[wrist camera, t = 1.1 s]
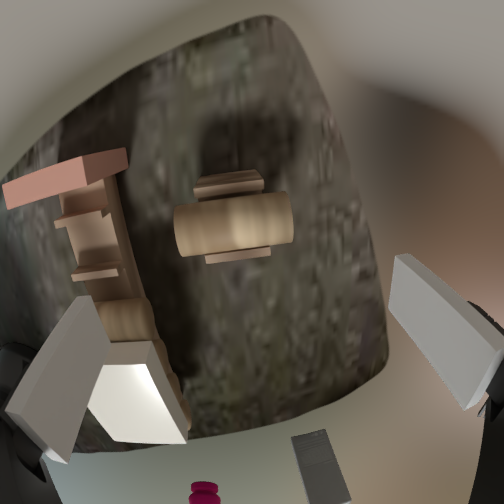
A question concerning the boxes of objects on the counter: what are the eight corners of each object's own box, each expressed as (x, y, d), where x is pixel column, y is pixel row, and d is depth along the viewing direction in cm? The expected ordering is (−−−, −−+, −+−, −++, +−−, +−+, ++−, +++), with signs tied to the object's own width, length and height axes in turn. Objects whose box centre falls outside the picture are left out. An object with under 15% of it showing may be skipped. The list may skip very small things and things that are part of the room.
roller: (187, 245, 24) (181, 265, 20) (179, 200, 22) (170, 213, 19) (284, 232, 24) (294, 250, 21) (281, 186, 23) (291, 197, 19)
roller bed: (140, 396, 36) (131, 434, 30) (60, 185, 24) (21, 203, 18) (193, 394, 36) (190, 435, 30) (128, 167, 24) (99, 180, 18)
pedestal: (209, 238, 28) (206, 264, 23) (200, 176, 25) (193, 188, 20) (261, 231, 28) (270, 256, 23) (255, 169, 26) (263, 178, 20)
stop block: (60, 185, 24) (7, 210, 16) (56, 166, 23) (1, 185, 15) (128, 167, 24) (87, 185, 16) (125, 147, 24) (81, 155, 15)
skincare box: (289, 435, 43) (306, 513, 28) (329, 425, 43) (353, 501, 28) (293, 454, 46) (308, 522, 32) (329, 445, 46) (349, 511, 32)
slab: (119, 421, 28) (114, 440, 26) (70, 343, 23) (59, 363, 21) (188, 423, 29) (186, 443, 26) (151, 340, 24) (145, 364, 21)
